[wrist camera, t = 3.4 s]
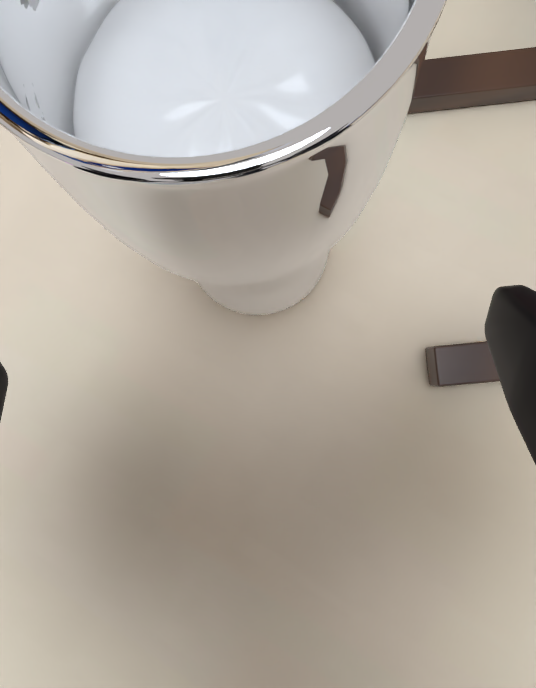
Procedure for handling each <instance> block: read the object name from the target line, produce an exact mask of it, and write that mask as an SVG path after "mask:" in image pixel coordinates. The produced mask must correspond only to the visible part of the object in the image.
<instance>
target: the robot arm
mask: <svg viewBox="0 0 536 688" xmlns="http://www.w3.org/2000/svg"><path fill="white" fill-rule="evenodd" d="M485 336H486V340H487V343H488V346H489V349H490V352H491V355H492V358H493V361H494V364H495V367H496V370H497V373H498V376H499V379H500V382H501V385H502V388H503V391H504V394H505V397H506V400H507V403H508V406H509V408H510V411H511V413H512V415H513V418H514V420H515V422H516V424H517V426H518V429H519V431H520V433H521V435H522V437H523V439H524V441H525V443H526V445H527V448H528V450H529V452H530V454H531V456H532V458H533V460H534V462H535V464H536V291H534V290H532V289H530V288H528V287H526V286H523V285H513V286H503V287H499V288H497V289H496V290H495V292H494V294H493V296H492V300H491V304H490V307H489V311H488V315H487V318H486V322H485ZM7 386H8V376H7V373H6V370H5V369H4V367H3V365H2V364H1V362H0V421H1V416H2V411H3V406H4V401H5V396H6V391H7Z"/></svg>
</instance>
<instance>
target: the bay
mask: <svg viewBox="0 0 536 688" xmlns="http://www.w3.org/2000/svg"><path fill="white" fill-rule="evenodd" d="M535 99H536V47H533V48H525V49H516V50H507V51H498V52H490V53H481V54H472V55H463V56H454V57H446V58H437V59H428V60H424V63H423V66H422V70H421V73H420V76H419V80H418V83H417V86H416V89H415V92H414V95H413V98H412V101H411V104H410V107H409V110H408V113H417V112H426V111H435V110H444V109H453V108H462V107H471V106H480V105H489V104H499V103H508V102H517V101H526V100H535ZM408 113H407V114H408ZM426 356H427V365H428V374H429V383H430V385H431V386H451V385H462V384H473V383H484V382H495V381H500V379H499V376H498V373H497V370H496V367H495V364H494V361H493V358H492V355H491V352H490V349H489V346H488V343H487V341H485V342H475V343H464V344H453V345H443V346H433V347H427V348H426Z"/></svg>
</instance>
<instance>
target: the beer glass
mask: <svg viewBox="0 0 536 688" xmlns="http://www.w3.org/2000/svg"><path fill="white" fill-rule="evenodd" d="M446 1H447V0H0V125H1V126H2V127H3V128H5V129H6V130H7V131H8V132H10V133H11V134H12V135H13V136H14V137H15V138H16V139H17V140H18V141H19V142H20V143H21V144H22V145H23V146H24V148H25V149H26V150H27V151H28V152H29V153H30V154H31V155H32V156H33V157H34V159H35V160H36V161H37V162H38V163H39V164H40V165H41V166H42V167H43V168H44V170H45V171H46V172H47V173H48V174H49V175H50V176H51V177H52V178H53V179H54V180H55V181H56V182H57V183H58V184H59V185H60V186H61V187H62V188H63V189H64V190H65V191H66V192H67V193H68V194H69V195H70V196H71V197H72V199H73V200H74V201H75V202H76V203H77V204H78V205H79V206H80V207H82V208H83V209H84V210H85V211H86V212H87V213H88V214H89V215H90V216H91V217H93V218H94V219H95V220H96V221H97V222H98V223H99V224H100V225H102V226H103V227H104V228H105V229H106V230H107V231H108V232H109V233H111V234H112V235H113V236H114V237H115V238H117V239H118V240H119V241H120V242H122V243H123V244H125V245H126V246H127V247H129V248H130V249H132V250H133V251H135V252H136V253H138V254H139V255H141V256H142V257H144V258H145V259H147V260H149V261H150V262H152V263H153V264H155V265H157V266H158V267H160V268H162V269H164V270H166V271H168V272H170V273H173V274H175V275H178V276H180V277H183V278H186V279H189V280H192V281H195V282H198V284H199V285H200V287H201V288H202V289H203V291H204V292H205V293H206V294H207V295H208V296H209V297H210V298H211V299H212V300H214V301H215V302H216V303H218V304H219V305H221V306H223V307H225V308H227V309H229V310H232V311H234V312H238V313H242V314H247V315H267V314H273V313H277V312H280V311H283V310H285V309H287V308H290V307H292V306H293V305H295V304H297V303H298V302H299V301H301V300H302V299H303V298H305V297H306V296H307V295H308V294H309V293H310V292H311V291H312V289H313V288H314V287H315V286H316V284H317V283H318V281H319V280H320V278H321V276H322V274H323V272H324V269H325V266H326V263H327V259H328V254H329V250H330V249H331V248H332V247H333V246H334V245H335V244H336V243H337V242H338V241H339V240H340V239H341V238H342V237H343V236H344V235H345V234H346V233H347V232H348V231H349V230H350V228H351V227H352V226H353V224H354V223H355V222H356V220H357V219H358V217H359V216H360V214H361V213H362V211H363V210H364V208H365V206H366V204H367V203H368V201H369V199H370V198H371V196H372V194H373V193H374V191H375V189H376V187H377V186H378V184H379V182H380V180H381V178H382V176H383V174H384V172H385V169H386V167H387V165H388V162H389V160H390V158H391V155H392V153H393V150H394V148H395V146H396V143H397V141H398V138H399V136H400V133H401V131H402V128H403V125H404V122H405V119H406V116H407V113H408V110H409V107H410V104H411V101H412V98H413V95H414V92H415V89H416V86H417V83H418V80H419V76H420V73H421V70H422V66H423V63H424V59H425V56H426V53H427V49H428V46H429V43H430V39H431V36H432V33H433V30H434V28H435V26H436V24H437V22H438V20H439V18H440V16H441V13H442V11H443V9H444V6H445V4H446Z"/></svg>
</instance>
